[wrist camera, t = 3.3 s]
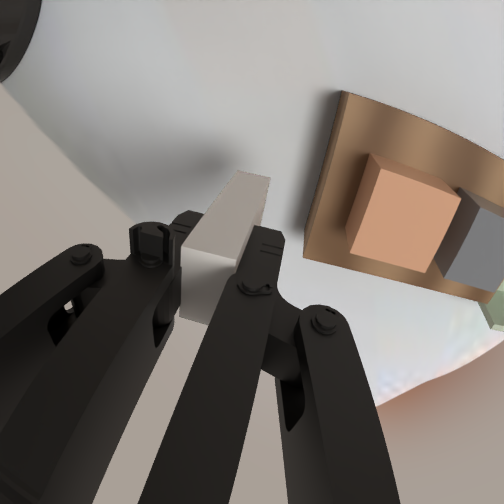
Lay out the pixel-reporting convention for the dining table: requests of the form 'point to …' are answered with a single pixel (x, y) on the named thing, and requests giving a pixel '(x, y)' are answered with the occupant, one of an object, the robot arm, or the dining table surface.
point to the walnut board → (402, 151)
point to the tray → (495, 310)
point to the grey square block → (474, 244)
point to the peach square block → (399, 214)
